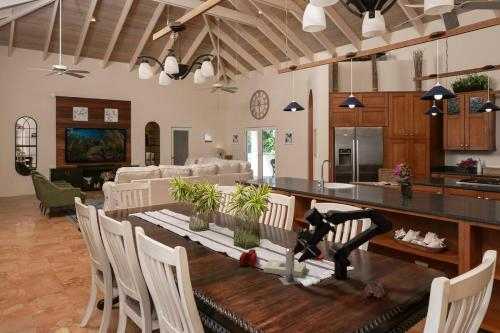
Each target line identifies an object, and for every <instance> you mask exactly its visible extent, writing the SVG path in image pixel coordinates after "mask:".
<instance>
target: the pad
mask: <svg viewBox="0 0 500 333" xmlns="http://www.w3.org/2000/svg"><path fill="white" fill-rule="evenodd" d="M278 279H279V281H280V282H281V283H282V284H283V285H284V286H286V285H287V286H288V285H299V284H302V282H301V281H300V280H299V278H297V276H294V282H287V281H286V276H284V277H278ZM298 280H299V281H298Z"/></svg>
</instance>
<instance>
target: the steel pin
mask: <svg viewBox="0 0 500 333" xmlns="http://www.w3.org/2000/svg"><path fill="white" fill-rule="evenodd" d="M294 252H295V250H294V248H291V247H290V248H285V261H286V275H285V277H286V281H287V282H294V277H295V276H294V262H295V255H294Z"/></svg>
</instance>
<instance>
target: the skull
mask: <svg viewBox="0 0 500 333" xmlns="http://www.w3.org/2000/svg"><path fill="white" fill-rule="evenodd" d="M385 294H386V292H385V288H384V287H383V285H382V284H380V283H378V282H373V281H370V282H367V283H366V284H365V287H364V290H363V295H365V296H366V297H371V296H373V297H376V298H377V299H379V298H383V296H384V295H385Z"/></svg>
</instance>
